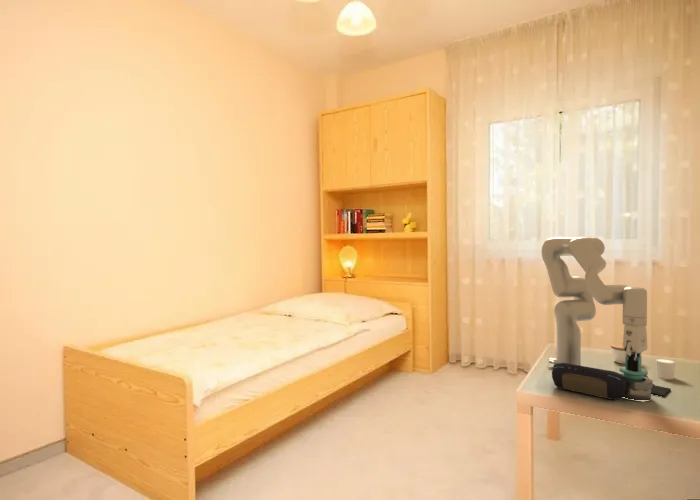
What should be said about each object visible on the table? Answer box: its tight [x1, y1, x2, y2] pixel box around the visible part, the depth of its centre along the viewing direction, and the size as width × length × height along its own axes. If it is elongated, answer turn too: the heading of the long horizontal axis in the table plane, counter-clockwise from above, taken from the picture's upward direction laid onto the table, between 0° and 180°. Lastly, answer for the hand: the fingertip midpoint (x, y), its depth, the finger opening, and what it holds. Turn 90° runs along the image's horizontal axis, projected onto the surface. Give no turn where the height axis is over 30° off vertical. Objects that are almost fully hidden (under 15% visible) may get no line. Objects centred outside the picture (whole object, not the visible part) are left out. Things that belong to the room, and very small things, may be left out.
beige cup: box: [655, 358, 676, 380], centre depth 183 cm, size 7×7×7 cm
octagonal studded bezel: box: [621, 373, 654, 400], centre depth 160 cm, size 10×10×7 cm
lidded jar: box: [610, 343, 632, 365], centre depth 205 cm, size 11×11×9 cm
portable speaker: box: [551, 363, 627, 400], centre depth 164 cm, size 25×10×10 cm, turn 48°
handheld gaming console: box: [645, 375, 671, 398], centre depth 166 cm, size 12×7×10 cm
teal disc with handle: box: [619, 356, 649, 381], centre depth 160 cm, size 9×9×8 cm
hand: (634, 369), depth 160 cm, fingers closed on teal disc with handle
